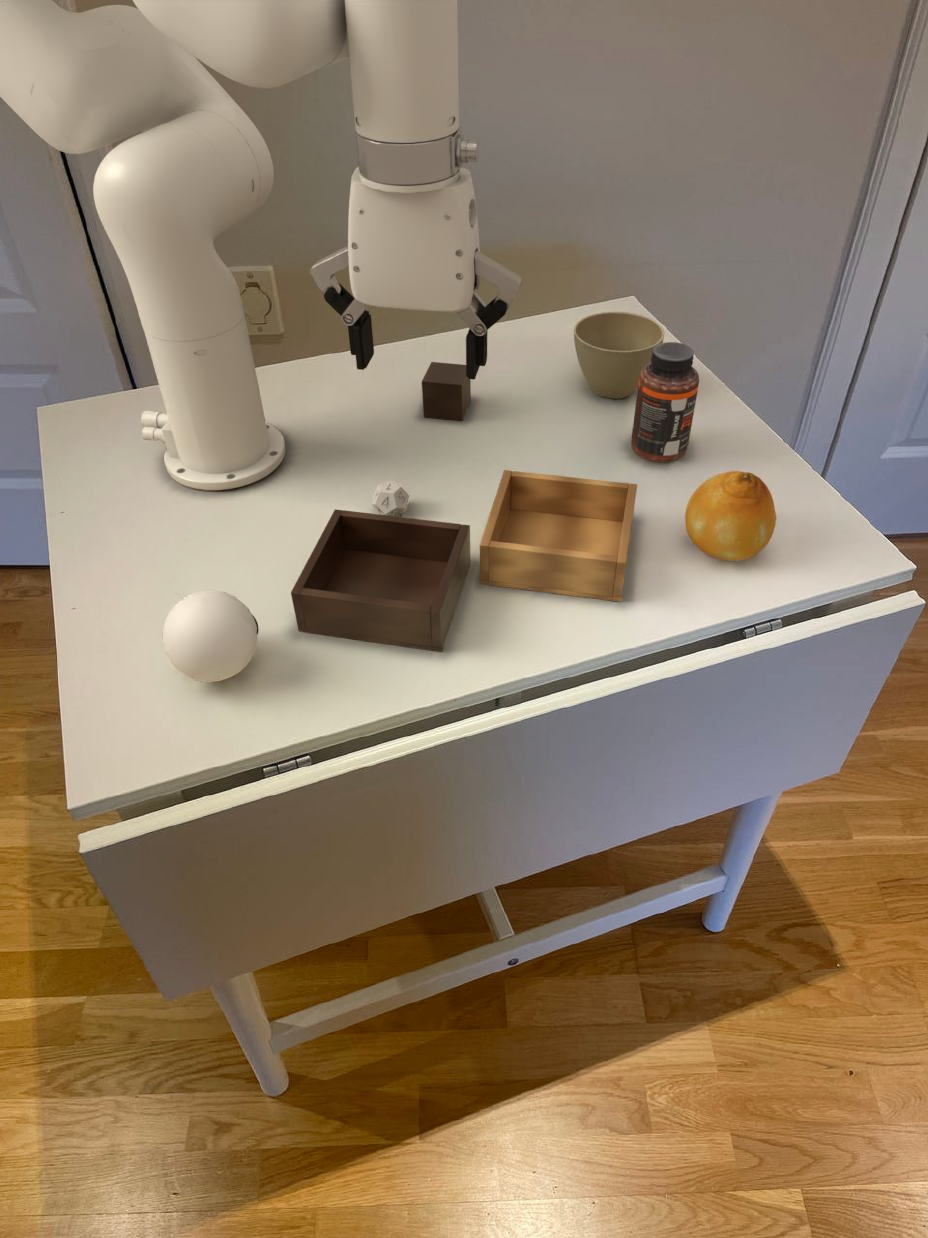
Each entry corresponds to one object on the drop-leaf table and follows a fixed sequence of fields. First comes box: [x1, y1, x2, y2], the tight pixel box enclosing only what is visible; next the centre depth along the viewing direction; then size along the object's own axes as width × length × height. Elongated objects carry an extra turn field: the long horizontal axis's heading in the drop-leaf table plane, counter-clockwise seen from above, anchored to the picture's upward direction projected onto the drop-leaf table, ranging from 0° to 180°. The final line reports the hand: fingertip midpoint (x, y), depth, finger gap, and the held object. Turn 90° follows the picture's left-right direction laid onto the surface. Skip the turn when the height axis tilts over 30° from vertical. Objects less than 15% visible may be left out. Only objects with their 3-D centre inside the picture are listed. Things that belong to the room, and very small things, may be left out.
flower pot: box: [573, 311, 665, 400], centre depth 104 cm, size 10×10×7 cm
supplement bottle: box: [630, 341, 700, 463], centre depth 93 cm, size 6×6×11 cm
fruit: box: [684, 470, 777, 562], centre depth 83 cm, size 8×8×8 cm
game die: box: [371, 480, 410, 517], centre depth 88 cm, size 4×4×3 cm
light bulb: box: [162, 589, 259, 683], centre depth 73 cm, size 10×7×7 cm
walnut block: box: [421, 361, 472, 422], centre depth 102 cm, size 4×4×4 cm
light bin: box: [479, 469, 638, 603], centre depth 83 cm, size 13×12×4 cm
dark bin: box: [290, 509, 472, 653], centre depth 79 cm, size 13×12×4 cm
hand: (419, 366), depth 79 cm, fingers open, 9 cm apart
